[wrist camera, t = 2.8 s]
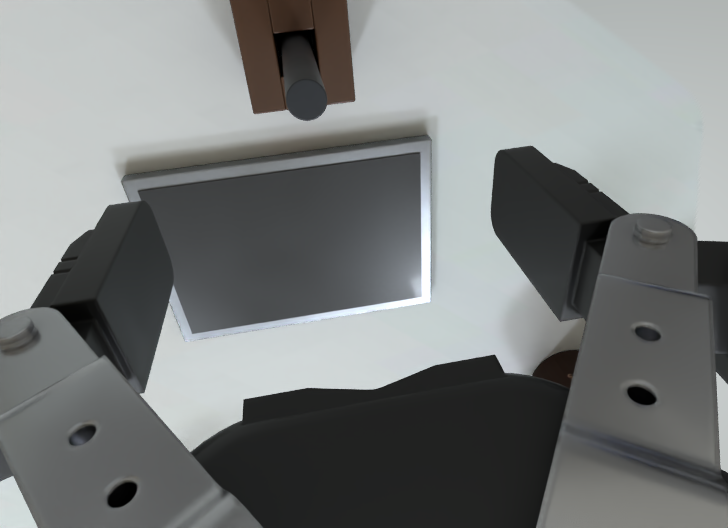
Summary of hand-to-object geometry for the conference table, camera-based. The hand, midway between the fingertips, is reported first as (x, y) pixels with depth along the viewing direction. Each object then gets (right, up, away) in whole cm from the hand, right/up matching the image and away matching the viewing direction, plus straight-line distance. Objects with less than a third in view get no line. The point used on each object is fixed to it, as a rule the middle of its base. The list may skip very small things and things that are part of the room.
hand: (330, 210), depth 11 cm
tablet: (-4, 0, +25) cm, 25 cm away
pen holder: (-3, +12, +17) cm, 21 cm away
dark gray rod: (-3, +12, +17) cm, 21 cm away
